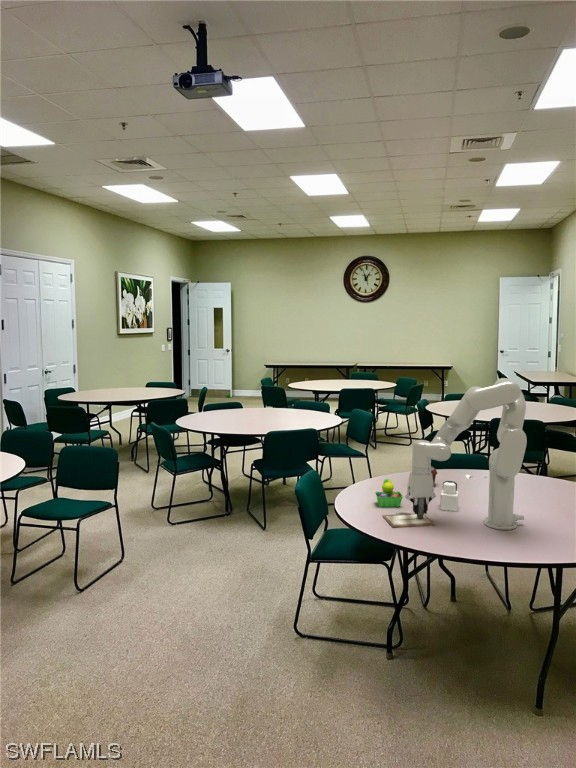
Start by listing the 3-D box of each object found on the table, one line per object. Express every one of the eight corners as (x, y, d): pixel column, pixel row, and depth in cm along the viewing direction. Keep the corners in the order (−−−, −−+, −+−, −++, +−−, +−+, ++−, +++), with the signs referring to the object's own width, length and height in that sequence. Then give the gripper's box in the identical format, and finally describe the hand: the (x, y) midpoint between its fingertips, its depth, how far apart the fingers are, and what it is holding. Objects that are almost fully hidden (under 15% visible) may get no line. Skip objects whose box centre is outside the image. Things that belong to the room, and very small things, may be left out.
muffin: (411, 486, 283) (411, 467, 281) (415, 480, 293) (415, 461, 292) (435, 489, 278) (436, 469, 277) (438, 483, 288) (439, 463, 287)
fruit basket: (377, 508, 251) (377, 483, 250) (374, 501, 260) (374, 477, 259) (403, 508, 251) (403, 483, 250) (399, 501, 260) (399, 477, 259)
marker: (422, 516, 238) (423, 489, 237) (425, 519, 235) (426, 491, 233) (414, 517, 238) (415, 489, 236) (417, 520, 234) (418, 492, 233)
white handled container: (441, 504, 255) (442, 479, 254) (458, 506, 253) (458, 480, 251) (440, 509, 248) (441, 483, 247) (457, 511, 246) (458, 485, 245)
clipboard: (422, 514, 243) (422, 510, 243) (435, 525, 230) (435, 521, 230) (382, 516, 240) (382, 513, 240) (392, 527, 228) (392, 524, 227)
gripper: (436, 467, 238) (435, 509, 241) (399, 468, 236) (398, 511, 238) (443, 471, 231) (442, 515, 233) (405, 473, 229) (404, 517, 231)
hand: (420, 512), depth 236 cm, fingers closed on marker, 3 cm apart
